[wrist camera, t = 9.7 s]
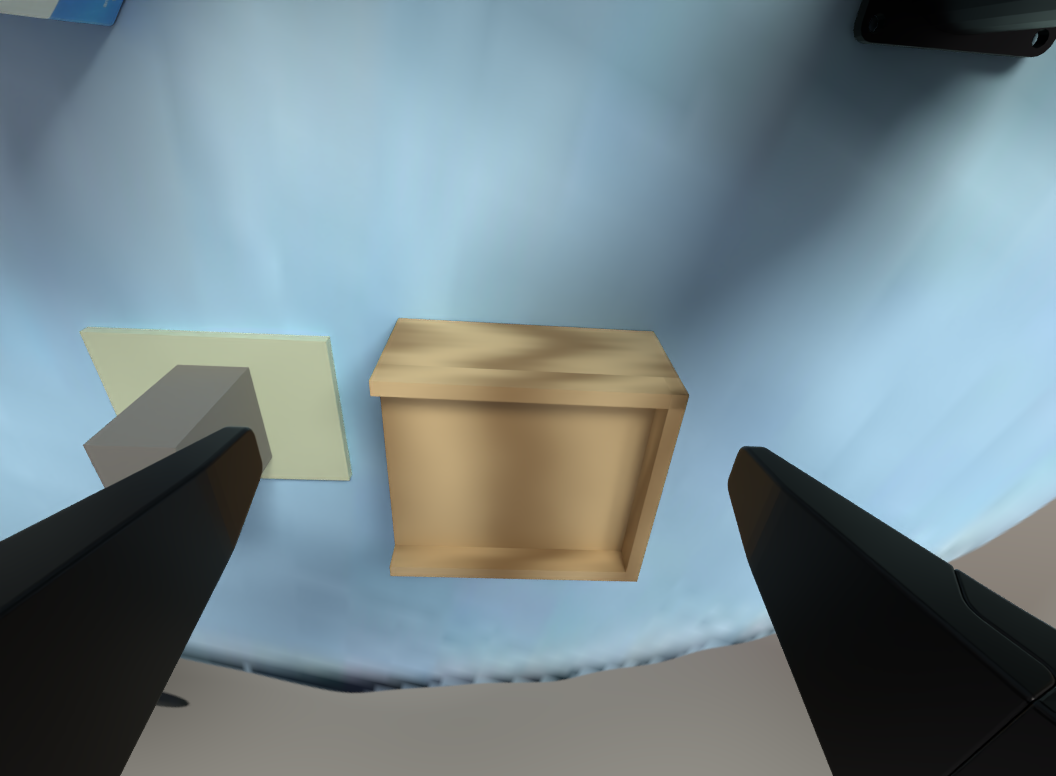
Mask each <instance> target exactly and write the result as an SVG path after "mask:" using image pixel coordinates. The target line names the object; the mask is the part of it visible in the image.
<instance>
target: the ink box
mask: <svg viewBox="0 0 1056 776" xmlns="http://www.w3.org/2000/svg"><path fill="white" fill-rule="evenodd" d="M122 2H123V0H0V13H3V14H11V15H20V16H27V17H35V18H44V19H53V20H60V21H69V22H77V23H88V24H96V25H103V26H111V25H113V23H114V22H115V19H116V17H117V14H118V12H119V9H120V7H121V5H122Z"/></svg>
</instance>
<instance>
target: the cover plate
mask: <svg viewBox="0 0 1056 776" xmlns="http://www.w3.org/2000/svg"><path fill="white" fill-rule="evenodd" d="M80 334H81V337H82V339H83V341H84V343H85V345H86V348H87V350H88V352H89V354H90V357H91V359H92V361H93V363H94V366H95V368H96V370H97V372H98V374H99V377H100V379H101V381H102V383H103V386H104V388H105V390H106V392H107V395H108V397H109V399H110V401H111V404H112V406H113V408H114V410H115V412H116V415H117V417H115V418H114V419H113V420H112V421H111V422H109V423H108V424H107V425H106V426H105V427H104V428H102V429H101V430H100V431H99V432H98V433H97V434H95V435H94V436H93V437H92V438H91V439H90V440H88V441H87V442H86V443H85V444H84V445H83V446H84V448H85V450H86V452H87V454H88V456H89V458H90V460H91V462H92V464H93V466H94V468H95V470H96V472H97V474H98V476H99V478H100V480H101V482H102V484H103V486H104V488H106V487H108V486H110V485H112V484H114V483H116V482H118V481H120V480H122V479H124V478H126V477H128V476H130V475H132V474H134V473H136V472H138V471H140V470H142V469H143V468H145V467H147V466H149V465H151V464H153V463H155V462H157V461H159V460H161V459H163V458H165V457H167V456H169V455H171V454H173V453H175V452H177V451H179V450H181V449H183V448H185V447H187V446H189V445H190V444H192V443H194V442H196V441H198V440H200V439H202V438H204V437H206V436H208V435H210V434H212V433H214V432H216V431H218V430H220V429H222V428H224V427H227V426H237V427H249V428H251V429H252V430H253V431H254V433H255V436H256V440H257V444H258V448H259V451H260V455H261V459H262V463H263V470H262V475H261V478H268V479H307V480H347V481H349V480H350V478H351V475H352V470H351V464H350V458H349V452H348V446H347V440H346V434H345V427H344V421H343V415H342V409H341V403H340V397H339V391H338V385H337V379H336V373H335V366H334V360H333V354H332V348H331V342H330V336H305V335H280V334H255V333H230V332H205V331H180V330H155V329H130V328H106V327H87V328H85V329H83V330H82V331H80Z"/></svg>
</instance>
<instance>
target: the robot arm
mask: <svg viewBox="0 0 1056 776" xmlns="http://www.w3.org/2000/svg"><path fill="white" fill-rule="evenodd" d="M874 16H877V19H878V24H877V27H876V28H875V30H874V31H873V32H870V30H869V22H870V21H871V19H872V17H874ZM853 31H854V37H855V38H856V40H857V41H858V42H861V43H865V44H876V45H887V46H898V47H909V48H921V49H932V50H943V51H954V52H965V53H976V54H987V55H999V56H1010V57H1035V56H1039V55H1041V54H1042V53H1044V52H1045V51H1046V50H1048V49H1049V48H1050V47H1051V45H1052V44H1053V42H1054V41H1055V39H1056V0H862V3H861V6H860V9H859V12H858V15H857V18H856V21H855V24H854V30H853ZM1037 32H1038V38H1037V41H1036V42H1035V44H1034V45H1033V46H1032V39H1033V37H1034V36H1035V34H1036V33H1037ZM262 470H263V463H262V459H261V455H260V451H259V448H258V444H257V440H256V436H255V433H254V431H253V430H252V429H251V428H249V427H237V426H227V427H224V428H222V429H220V430H218V431H216V432H214V433H212V434H210V435H208V436H206V437H204V438H202V439H200V440H198V441H196V442H194V443H192V444H190V445H189V446H187V447H185V448H183V449H181V450H179V451H177V452H175V453H173V454H171V455H169V456H167V457H165V458H163V459H161V460H159V461H157V462H155V463H153V464H151V465H149V466H147V467H145V468H143V469H142V470H140V471H138V472H136V473H134V474H132V475H130V476H128V477H126V478H124V479H122V480H120V481H118V482H116V483H114V484H112V485H110V486H108V487H106V488H104V489H102V490H100V491H98V492H97V493H95V494H93V495H91V496H89V497H87V498H85V499H83V500H81V501H79V502H77V503H75V504H73V505H71V506H69V507H67V508H65V509H63V510H61V511H59V512H57V513H55V514H53V515H51V516H50V517H48V518H46V519H44V520H42V521H40V522H38V523H36V524H34V525H32V526H30V527H28V528H26V529H24V530H22V531H20V532H18V533H16V534H14V535H12V536H10V537H8V538H6V539H5V540H3V541H1V542H0V776H120V775H121V773H122V771H123V769H124V767H125V765H126V763H127V761H128V759H129V757H130V755H131V753H132V751H133V749H134V747H135V745H136V743H137V741H138V739H139V737H140V735H141V733H142V731H143V729H144V728H145V725H146V723H147V722H148V720H149V718H150V716H151V714H152V712H153V710H154V708H155V706H156V704H157V702H158V700H159V698H160V696H161V694H162V692H163V690H164V688H165V686H166V684H167V682H168V680H169V678H170V676H171V674H172V672H173V670H174V668H175V666H176V664H177V662H178V660H179V658H180V656H181V654H182V652H183V650H184V648H185V646H186V644H187V642H188V640H189V638H190V636H191V634H192V632H193V630H194V628H195V626H196V624H197V622H198V620H199V618H200V617H201V615H202V613H203V611H204V609H205V607H206V605H207V603H208V601H209V599H210V597H211V595H212V593H213V591H214V589H215V587H216V585H217V583H218V581H219V579H220V577H221V575H222V573H223V571H224V569H225V567H226V565H227V563H228V561H229V559H230V557H231V555H232V552H233V550H234V548H235V545H236V543H237V541H238V538H239V535H240V533H241V530H242V527H243V525H244V522H245V519H246V516H247V514H248V511H249V508H250V505H251V503H252V500H253V497H254V495H255V492H256V489H257V486H258V484H259V481H260V478H261V475H262ZM728 491H729V495H730V499H731V503H732V506H733V510H734V514H735V517H736V521H737V525H738V528H739V532H740V535H741V539H742V543H743V546H744V550H745V553H746V557H747V560H748V563H749V566H750V568H751V571H752V574H753V576H754V579H755V581H756V584H757V586H758V589H759V591H760V594H761V596H762V599H763V601H764V604H765V606H766V609H767V611H768V614H769V616H770V619H771V621H772V624H773V626H774V629H775V632H776V634H777V637H778V639H779V642H780V644H781V647H782V649H783V651H784V654H785V657H786V659H787V661H788V664H789V667H790V669H791V672H792V674H793V677H794V679H795V682H796V684H797V687H798V689H799V692H800V694H801V697H802V699H803V702H804V704H805V707H806V709H807V712H808V714H809V716H810V719H811V722H812V724H813V727H814V729H815V732H816V734H817V737H818V739H819V742H820V744H821V747H822V749H823V751H824V754H825V757H826V760H827V762H828V764H829V767H830V770H831V772H832V774H833V776H1056V629H1055V628H1053V627H1052V626H1050V625H1048V624H1047V623H1045V622H1043V621H1041V620H1039V619H1038V618H1036V617H1034V616H1033V615H1031V614H1029V613H1028V612H1026V611H1024V610H1023V609H1021V608H1019V607H1018V606H1016V605H1014V604H1013V603H1011V602H1010V601H1008V600H1006V599H1005V598H1003V597H1001V596H1000V595H998V594H996V593H995V592H993V591H991V590H990V589H988V588H987V587H985V586H983V585H982V584H980V583H979V582H977V581H976V580H974V579H972V578H971V577H969V576H968V575H966V574H965V573H963V572H961V571H960V570H958V569H955V570H954V568H953V566H952V565H950V564H949V563H947V562H945V561H944V560H942V559H941V558H939V557H938V556H936V555H934V554H933V553H931V552H930V551H928V550H927V549H925V548H923V547H922V546H920V545H919V544H917V543H915V542H914V541H912V540H911V539H909V538H908V537H906V536H904V535H903V534H901V533H900V532H898V531H896V530H895V529H893V528H892V527H890V526H889V525H887V524H885V523H884V522H882V521H881V520H879V519H877V518H876V517H874V516H873V515H871V514H870V513H868V512H866V511H865V510H863V509H862V508H860V507H858V506H857V505H855V504H854V503H852V502H851V501H849V500H847V499H846V498H844V497H843V496H841V495H839V494H838V493H836V492H835V491H833V490H832V489H830V488H828V487H827V486H825V485H824V484H822V483H821V482H819V481H817V480H816V479H814V478H813V477H811V476H809V475H808V474H806V473H805V472H803V471H802V470H800V469H798V468H797V467H795V466H794V465H792V464H790V463H789V462H787V461H786V460H784V459H783V458H781V457H779V456H778V455H776V454H775V453H773V452H772V451H770V450H768V449H767V448H764V447H754V446H744V447H742V448H741V449H740V450H739V452H738V454H737V457H736V459H735V462H734V465H733V468H732V470H731V473H730V476H729V479H728Z"/></svg>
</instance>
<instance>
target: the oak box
mask: <svg viewBox="0 0 1056 776" xmlns="http://www.w3.org/2000/svg"><path fill="white" fill-rule="evenodd" d="M369 387H370V396H380V399H381V409H382V419H383V429H384V439H385V449H386V459H387V469H388V479H389V489H390V499H391V509H392V519H393V529H394V539H395V547H394V551H393V555H392V559H391V563H390V575H391V576H415V577H459V578H503V579H547V580H591V581H636V582H637V579H638V576H639V572H640V569H641V565H642V561H643V558H644V554H645V551H646V547H647V544H648V540H649V537H650V533H651V529H652V526H653V522H654V519H655V515H656V512H657V508H658V505H659V501H660V497H661V494H662V490H663V487H664V483H665V480H666V476H667V473H668V469H669V465H670V462H671V458H672V455H673V451H674V448H675V444H676V441H677V437H678V434H679V430H680V426H681V423H682V419H683V416H684V412H685V409H686V405H687V402H688V398H689V394H688V392H687V391H686V389H685V387H684V385H683V383H682V382H681V380H680V378H679V376H678V375H677V373H676V371H675V369H674V367H673V366H672V364H671V362H670V360H669V358H668V357H667V355H666V353H665V351H664V349H663V348H662V346H661V344H660V342H659V340H658V339H657V337H656V335H655V333H654V332H653V331H634V330H615V329H596V328H577V327H558V326H539V325H520V324H501V323H482V322H463V321H445V320H426V319H407V318H398V320H397V323H396V325H395V327H394V329H393V331H392V333H391V335H390V337H389V339H388V342H387V344H386V346H385V348H384V350H383V352H382V354H381V356H380V358H379V361H378V363H377V365H376V367H375V369H374V371H373V373H372V375H371V377H370V380H369Z"/></svg>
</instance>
